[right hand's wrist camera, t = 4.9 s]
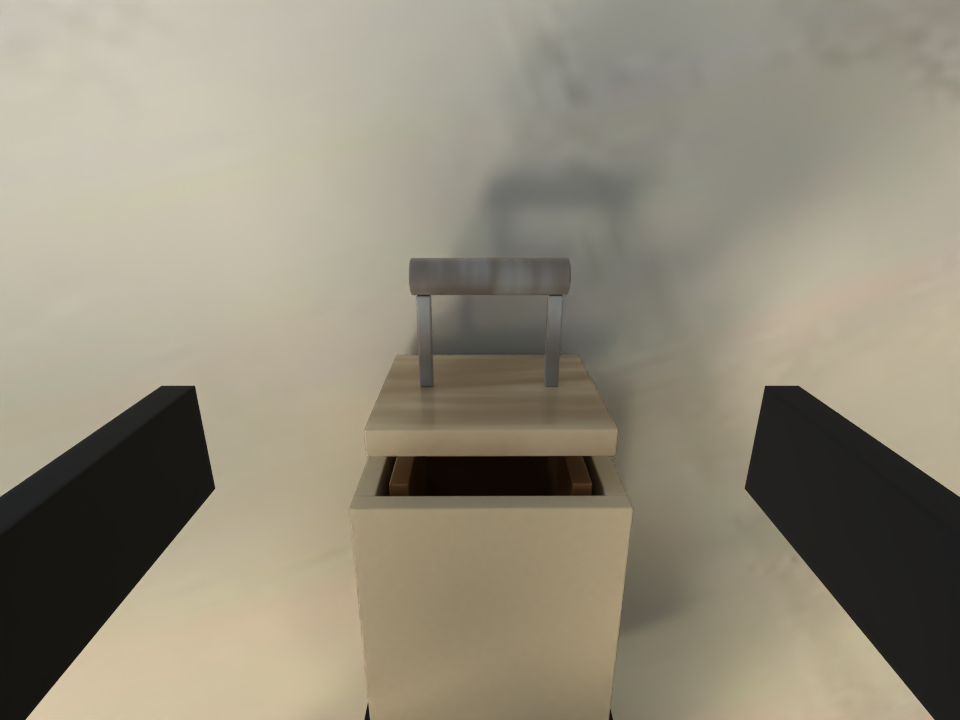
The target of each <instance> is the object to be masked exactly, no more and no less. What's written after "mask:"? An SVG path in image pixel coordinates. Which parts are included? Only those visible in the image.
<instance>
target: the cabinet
mask: <svg viewBox="0 0 960 720" xmlns="http://www.w3.org/2000/svg"><path fill="white" fill-rule="evenodd" d="M582 457H583V460H584V463H585V466H586V469H587V471H588V474H589V477H590V480H591V483H592V491H591V496H390V492H389V483H390V479H391V476H392V472H393V469H394V465H395V462H396V458H397V456H369V458H368V460H367V463H366V466H365V468H364V471H363V473H362V476H361V479H360V481H359V484H358V487H357V489H356V492H355V495H354V497H353V500H352V503H351V505H350V508H349V514H350V524H351V534H352V544H353V554H354V564H355V574H356V584H357V594H358V604H359V614H360V624H361V634H362V644H363V654H364V664H365V674H366V684H367V694H368V704H369V714H370V720H609V714H610V705H611V697H612V688H613V679H614V671H615V662H616V653H617V645H618V636H619V627H620V619H621V610H622V601H623V593H624V584H625V575H626V567H627V558H628V549H629V540H630V532H631V523H632V514H633V507H632V505H631V502H630V500H629V498H628V496H627V493H626V491H625V489H624V487H623V485H622V482H621V480H620V478H619V476H618V474H617V471H616V469H615V467H614V465H613V463H612V460H611V458H610V456H582Z"/></svg>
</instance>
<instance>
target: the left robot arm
mask: <svg viewBox="0 0 960 720" xmlns="http://www.w3.org/2000/svg"><path fill="white" fill-rule="evenodd" d="M365 720H370V714H369V704H368V705H367V710H366V715H365ZM609 720H613V718H612V714H611V709H610V714H609Z"/></svg>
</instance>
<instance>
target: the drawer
mask: <svg viewBox="0 0 960 720" xmlns="http://www.w3.org/2000/svg"><path fill="white" fill-rule="evenodd" d="M570 280H571V268H570V261H569V259H568V258H411V260H410V264H409V285H410V292H411V294H412V295H417V297H416V305H417V328H418V352H419V355H396V357H395V360H394V362H393V364H392V367H391V369H390V371H389V373H388V376H387V378H386V380H385V383H384V385H383V387H382V390H381V392H380V394H379V396H378V399H377V401H376V403H375V406H374V408H373V410H372V413H371V415H370V417H369V419H368V422H367V424H366V426H365V429H364V439H365V451H366V456H397V458H396V462H395V465H394V469H393V472H392V476H391V479H390V483H389V492H390V496H591V491H592V483H591V480H590V477H589V474H588V471H587V469H586V466H585V463H584V460H583V457H582V456H615V455H616V448H617V438H618V428H617V426H616V424H615V422H614V421H613V419H612V417H611V415H610V413H609V411H608V409H607V407H606V406H605V404H604V402H603V400H602V398H601V396H600V394H599V392H598V391H597V389H596V387H595V385H594V383H593V381H592V379H591V377H590V376H589V374H588V372H587V370H586V368H585V366H584V364H583V362H582V361H581V359H580V357H579V355H578V354H560V342H561V324H562V305H563V296H562V295H567V294H568V292H569V289H570ZM431 295H547V318H546V341H545V355H433V340H432V309H431Z"/></svg>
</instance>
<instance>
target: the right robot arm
mask: <svg viewBox="0 0 960 720" xmlns="http://www.w3.org/2000/svg"><path fill="white" fill-rule="evenodd" d="M214 489H215V485H214V480H213V475H212V470H211V465H210V460H209V455H208V450H207V445H206V440H205V435H204V430H203V425H202V420H201V415H200V410H199V405H198V400H197V394H196V389H195V386H161V387H159V388H158V389H156V390H155V391H153V392H152V393H150V394H149V395H148V396H146V397H145V398H143V399H142V400H140V401H139V402H137V403H136V404H135V405H133V406H132V407H130V408H129V409H127V410H126V411H124V412H123V413H121V414H120V415H119V416H117V417H116V418H114V419H113V420H111V421H110V422H108V423H107V424H106V425H104V426H103V427H101V428H100V429H98V430H97V431H95V432H94V433H92V434H91V435H90V436H88V437H87V438H85V439H84V440H82V441H81V442H79V443H78V444H77V445H75V446H74V447H72V448H71V449H69V450H68V451H66V452H65V453H63V454H62V455H61V456H59V457H58V458H56V459H55V460H53V461H52V462H50V463H49V464H48V465H46V466H45V467H43V468H42V469H40V470H39V471H37V472H36V473H34V474H33V475H32V476H30V477H29V478H27V479H26V480H24V481H23V482H21V483H20V484H19V485H17V486H16V487H14V488H13V489H11V490H10V491H8V492H7V493H5V494H4V495H3V496H1V497H0V720H25V719H26V718H27V717H28V716H29V715H30V713H31V712H32V711H33V710H34V709H35V707H36V706H37V705H38V704H39V702H40V701H41V700H42V699H43V698H44V696H45V695H46V694H47V693H48V691H49V690H50V689H51V688H52V687H53V685H54V684H55V683H56V682H57V681H58V679H59V678H60V677H61V676H62V674H63V673H64V672H65V671H66V670H67V668H68V667H69V666H70V665H71V663H72V662H73V661H74V660H75V659H76V657H77V656H78V655H79V654H80V653H81V651H82V650H83V649H84V648H85V646H86V645H87V644H88V643H89V642H90V640H91V639H92V638H93V637H94V635H95V634H96V633H97V632H98V631H99V629H100V628H101V627H102V626H103V625H104V623H105V622H106V621H107V620H108V618H109V617H110V616H111V615H112V614H113V612H114V611H115V610H116V609H117V607H118V606H119V605H120V604H121V603H122V601H123V600H124V599H125V598H126V597H127V595H128V594H129V593H130V592H131V590H132V589H133V588H134V587H135V586H136V584H137V583H138V582H139V581H140V579H141V578H142V577H143V576H144V575H145V573H146V572H147V571H148V570H149V569H150V567H151V566H152V565H153V564H154V562H155V561H156V560H157V559H158V558H159V556H160V555H161V554H162V553H163V552H164V550H165V549H166V548H167V547H168V545H169V544H170V543H171V542H172V541H173V539H174V538H175V537H176V536H177V534H178V533H179V532H180V531H181V530H182V528H183V527H184V526H185V525H186V524H187V522H188V521H189V520H190V519H191V517H192V516H193V515H194V514H195V513H196V511H197V510H198V509H199V508H200V506H201V505H202V504H203V503H204V502H205V500H206V499H207V498H208V497H209V496H210V494H211V493H212V492H213V491H214ZM745 489H746V491H747V492H748V493H749V494H750V496H751V497H752V498H753V499H754V500H755V502H756V503H757V504H758V505H759V506H760V508H761V509H762V510H763V511H764V513H765V514H766V515H767V516H768V517H769V519H770V520H771V521H772V522H773V524H774V525H775V526H776V527H777V528H778V530H779V531H780V532H781V533H782V534H783V536H784V537H785V538H786V539H787V541H788V542H789V543H790V544H791V545H792V547H793V548H794V549H795V550H796V552H797V553H798V554H799V555H800V556H801V558H802V559H803V560H804V561H805V562H806V564H807V565H808V566H809V567H810V569H811V570H812V571H813V572H814V573H815V575H816V576H817V577H818V578H819V579H820V581H821V582H822V583H823V584H824V586H825V587H826V588H827V589H828V590H829V592H830V593H831V594H832V595H833V597H834V598H835V599H836V600H837V601H838V603H839V604H840V605H841V606H842V607H843V609H844V610H845V611H846V612H847V614H848V615H849V616H850V617H851V618H852V620H853V621H854V622H855V623H856V625H857V626H858V627H859V628H860V629H861V631H862V632H863V633H864V634H865V635H866V637H867V638H868V639H869V640H870V642H871V643H872V644H873V645H874V646H875V648H876V649H877V650H878V651H879V653H880V654H881V655H882V656H883V657H884V659H885V660H886V661H887V662H888V663H889V665H890V666H891V667H892V668H893V670H894V671H895V672H896V673H897V674H898V676H899V677H900V678H901V679H902V681H903V682H904V683H905V684H906V685H907V687H908V688H909V689H910V690H911V691H912V693H913V694H914V695H915V696H916V698H917V699H918V700H919V701H920V702H921V704H922V705H923V706H924V707H925V709H926V710H927V711H928V712H929V713H930V715H931V716H932V717H933V718H934V719H935V720H960V497H959V496H957V495H956V494H955V493H953V492H952V491H950V490H949V489H947V488H946V487H944V486H943V485H941V484H940V483H939V482H937V481H936V480H934V479H933V478H931V477H930V476H928V475H927V474H926V473H924V472H923V471H921V470H920V469H918V468H917V467H915V466H914V465H912V464H911V463H910V462H908V461H907V460H905V459H904V458H902V457H901V456H899V455H898V454H897V453H895V452H894V451H892V450H891V449H889V448H888V447H886V446H885V445H883V444H882V443H881V442H879V441H878V440H876V439H875V438H873V437H872V436H870V435H869V434H868V433H866V432H865V431H863V430H862V429H860V428H859V427H857V426H856V425H854V424H853V423H852V422H850V421H849V420H847V419H846V418H844V417H843V416H841V415H840V414H839V413H837V412H836V411H834V410H833V409H831V408H830V407H828V406H827V405H825V404H824V403H823V402H821V401H820V400H818V399H817V398H815V397H814V396H812V395H811V394H810V393H808V392H807V391H805V390H804V389H802V388H801V387H799V386H765V389H764V394H763V400H762V405H761V410H760V415H759V420H758V425H757V430H756V435H755V440H754V445H753V450H752V455H751V460H750V465H749V470H748V475H747V480H746V485H745Z"/></svg>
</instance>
